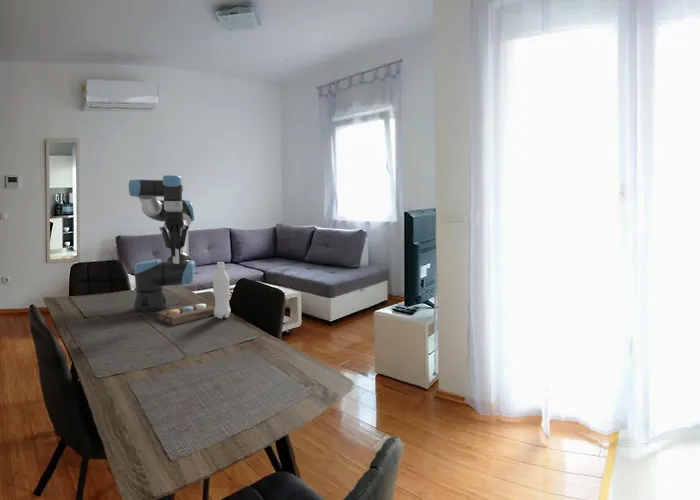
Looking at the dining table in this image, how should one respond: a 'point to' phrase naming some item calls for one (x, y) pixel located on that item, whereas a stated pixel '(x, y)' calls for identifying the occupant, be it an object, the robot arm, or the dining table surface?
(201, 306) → the cream rounded lump
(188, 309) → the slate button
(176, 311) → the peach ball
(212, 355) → the dining table surface
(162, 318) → the brown wooden tray
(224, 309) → the water bottle
